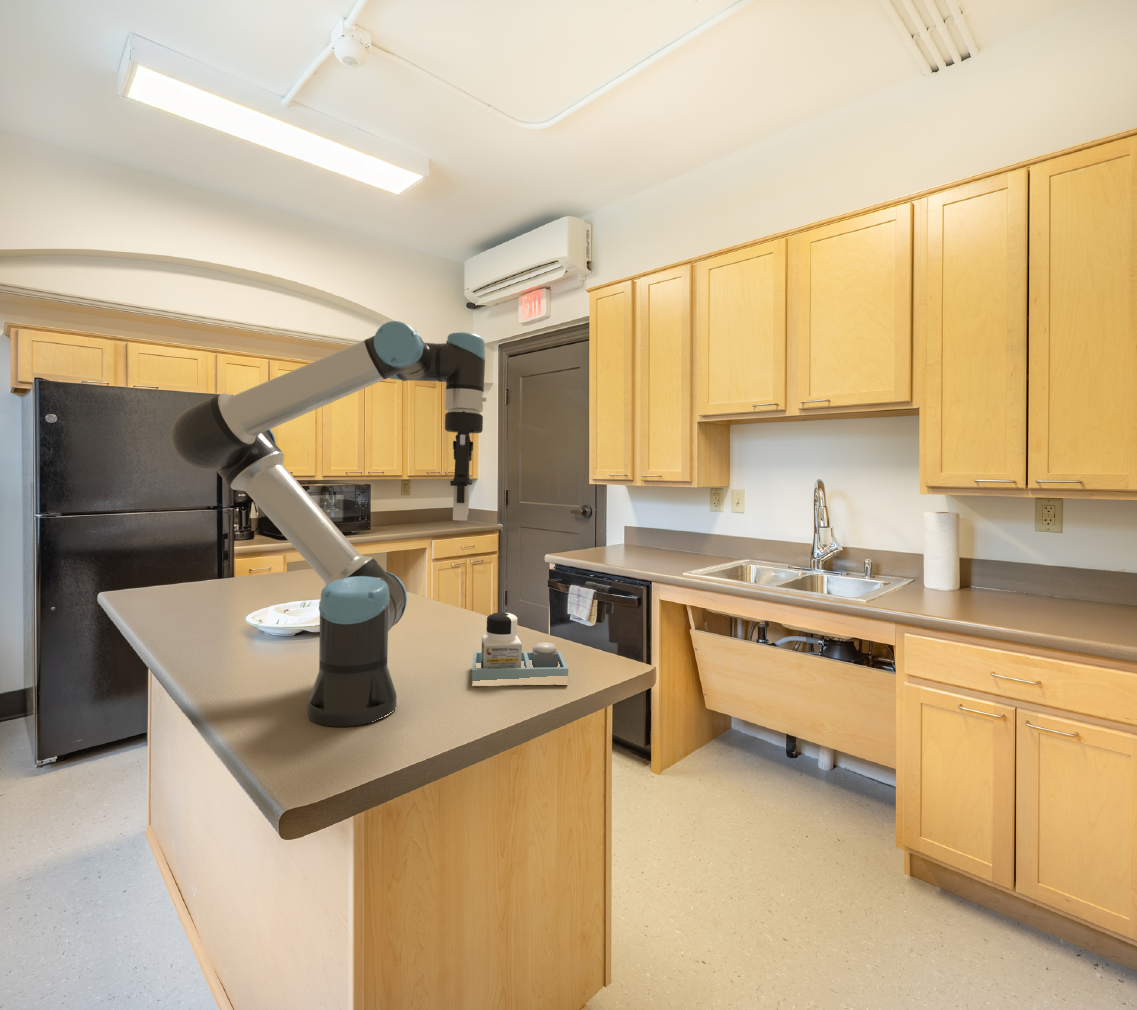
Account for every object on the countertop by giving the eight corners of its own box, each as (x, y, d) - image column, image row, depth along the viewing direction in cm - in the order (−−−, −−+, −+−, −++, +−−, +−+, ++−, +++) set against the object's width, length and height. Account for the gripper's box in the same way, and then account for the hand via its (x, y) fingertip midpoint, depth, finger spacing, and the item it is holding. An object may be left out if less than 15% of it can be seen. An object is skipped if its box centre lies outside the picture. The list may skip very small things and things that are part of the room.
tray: (471, 686, 122) (472, 654, 122) (472, 667, 134) (473, 638, 134) (567, 685, 125) (568, 653, 124) (560, 666, 137) (561, 637, 136)
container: (484, 680, 124) (486, 619, 123) (480, 668, 132) (482, 610, 131) (521, 679, 126) (523, 618, 125) (515, 667, 133) (517, 610, 133)
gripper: (483, 406, 108) (479, 523, 109) (482, 419, 133) (479, 513, 134) (441, 404, 107) (438, 522, 108) (448, 417, 132) (445, 512, 133)
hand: (461, 517), depth 121 cm, fingers open, 13 cm apart
